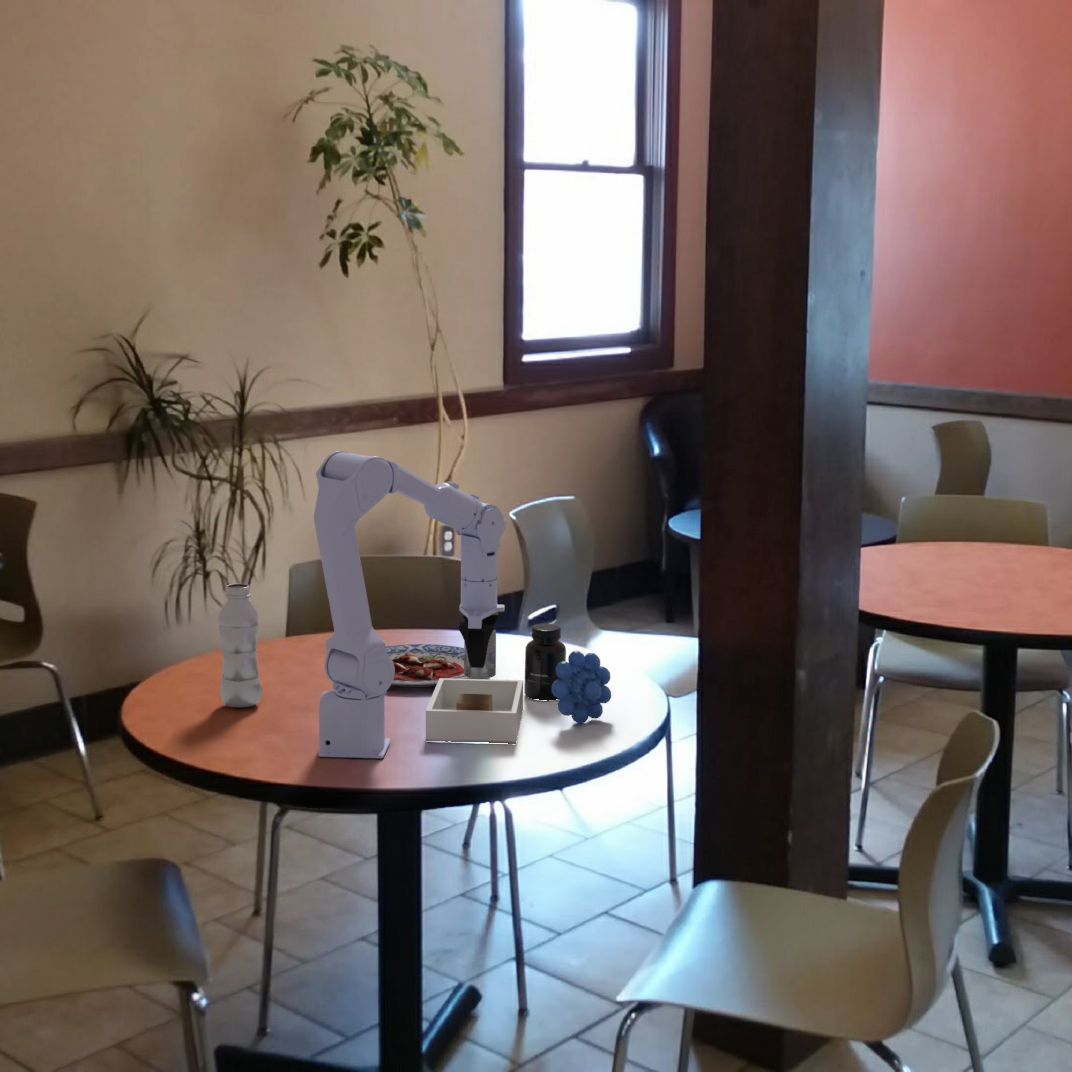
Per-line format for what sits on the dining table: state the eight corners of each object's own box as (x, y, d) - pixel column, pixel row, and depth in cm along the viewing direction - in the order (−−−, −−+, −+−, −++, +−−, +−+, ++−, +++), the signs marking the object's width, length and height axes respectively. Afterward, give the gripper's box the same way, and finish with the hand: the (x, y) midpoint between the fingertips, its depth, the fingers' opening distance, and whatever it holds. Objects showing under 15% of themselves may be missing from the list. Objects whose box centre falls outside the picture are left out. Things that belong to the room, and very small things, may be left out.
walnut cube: (456, 734, 215) (456, 703, 214) (460, 724, 219) (460, 693, 219) (489, 735, 214) (489, 704, 213) (492, 725, 219) (492, 694, 218)
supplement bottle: (530, 703, 233) (531, 632, 231) (519, 691, 240) (520, 622, 237) (570, 700, 235) (571, 630, 233) (558, 689, 241) (559, 620, 239)
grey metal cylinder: (462, 677, 221) (462, 634, 220) (466, 669, 226) (466, 626, 225) (493, 679, 221) (493, 635, 220) (497, 670, 226) (497, 627, 225)
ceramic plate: (434, 704, 233) (434, 686, 232) (314, 680, 246) (314, 663, 246) (518, 669, 254) (518, 653, 254) (404, 648, 268) (404, 633, 267)
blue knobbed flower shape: (569, 737, 216) (570, 661, 214) (542, 726, 221) (543, 651, 219) (627, 723, 223) (628, 650, 221) (599, 713, 228) (601, 641, 226)
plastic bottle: (253, 713, 226) (249, 591, 222) (213, 710, 227) (209, 589, 224) (268, 701, 232) (265, 582, 229) (229, 698, 233) (226, 580, 230)
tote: (425, 742, 213) (425, 710, 212) (439, 707, 230) (439, 678, 229) (515, 745, 212) (516, 713, 211) (522, 710, 229) (523, 680, 228)
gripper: (501, 588, 213) (500, 675, 216) (507, 569, 228) (507, 650, 230) (454, 587, 214) (454, 674, 216) (464, 568, 228) (464, 649, 230)
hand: (478, 662), depth 223 cm, fingers closed on grey metal cylinder, 5 cm apart
